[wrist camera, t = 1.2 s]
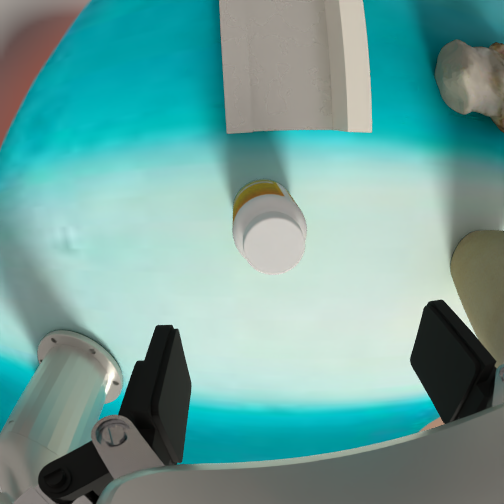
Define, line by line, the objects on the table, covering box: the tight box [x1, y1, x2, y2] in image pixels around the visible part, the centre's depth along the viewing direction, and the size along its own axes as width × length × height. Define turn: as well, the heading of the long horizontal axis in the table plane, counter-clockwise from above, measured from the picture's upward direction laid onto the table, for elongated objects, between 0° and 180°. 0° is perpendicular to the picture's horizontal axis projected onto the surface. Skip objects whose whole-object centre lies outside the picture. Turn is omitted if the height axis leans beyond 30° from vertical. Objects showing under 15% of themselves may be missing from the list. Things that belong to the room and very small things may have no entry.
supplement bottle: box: [233, 179, 307, 275], centre depth 25 cm, size 5×5×10 cm
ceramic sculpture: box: [435, 40, 504, 133], centre depth 21 cm, size 11×9×15 cm
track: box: [219, 0, 372, 134], centre depth 21 cm, size 20×11×5 cm, turn 3°
